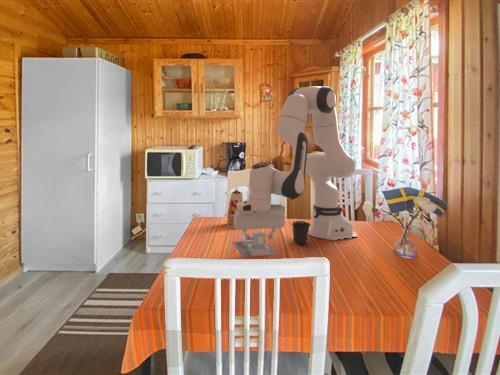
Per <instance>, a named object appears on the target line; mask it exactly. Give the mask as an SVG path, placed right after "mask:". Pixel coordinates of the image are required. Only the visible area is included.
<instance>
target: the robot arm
mask: <svg viewBox="0 0 500 375" xmlns="http://www.w3.org/2000/svg"><path fill="white" fill-rule="evenodd" d="M337 100H338V99H337V94H336V91H335V90H334V89H333V87H330V86H327V85H326V86H325V85H323V86H317V85H313V86H312V85H311V86H307V87H305V86H304V87H296V88H294V89H291V91H290V92H289V93H288V95H287V98H286V99H285V101H284V104H283V106H282V109H281V110H280V114H279V117H278V120H277V126H276V132H277V135H278V136H279V137H280V139H282V141H284V142H285V143H287V144H289V145H290V146H291V148H292V157H291V158H292V159H291V167H290V170H289V171H282V170H278V169H276V168H274V167H272V166H271V164H270V163H269V162H256V163H254V164H253V165H252V166H251V168H250V172H249V178H248V179H249V180H248V188H249V193H248V199H246V200H243V201H242V202H239V203H237V208H238V209H237V210H236V212H235V215H234V227H235V229H236V230H242V232H243V234H244V236H245V240H250V236H251V235H250V234H247V232H248V230H259V229H270V230H271V231H270V232H269V233H267V238H268V239H269V240H272V239H273V237H274V234H275V233H276V230H277V229H279V228H281V229H282V228H284V227H285V224H286V223H285V222H286V221H285V213H286V208H285V206H284V205H282V204H281V203H279V204H276V203H275V204H274V203H273V204H272V194H273V195H276V196H281V197H284V198H287V199H290V200H295V199H297V198H299V197H300V196H301V195H303V193H304V191H305V188H306V176H305V175H306V173H307V175H308V176H309V177H310V179H311V181H312V184H313V188H314V204H313V206H312V217H313V218H312V223H311V226H310V227H311V228H310V230H309V232H308V235H310V236H311V237H314V238H318V239H324V240H329V241H337V240H338V239H340V240H345V239H344V238H348V239H353V238H352V237H356V238H358V233H357V232H355V231H354V229H353V228H354V227H353V224H352V222H351V221H350V220H349V219H348V218H347V217H345V216H344V215H343V214H342V213H345V212H346V208H344V207H340V206H339V196H340V195H339V194H340V191H339V189H338V187H337V186H336V185H334V183H333V182H332V181H331V178H335V179H344V178H345V179H346V178H350V177H352V176H353V174H354V173H355V171H356V162H355V160H354V158H353V156H351V155H350V154H349V153H348V152H347V151H346V150H345V149H344V146H343V145H342V142H341V140H340V134H339V125H338V117H337V116H338V115H337V111H336V105H337ZM309 114H311V123H312V124H311V125H312V133H313V141H314V143H315V144H316V145H317V146H318V147H320V149H321V150H322V151H323V152H320V151H319V152H318V151H316V152H310V153H308V151H309V150H308V149H309V138H308V136H307V134H306V132H305V130H306V125H307V120H308V115H309ZM338 241H339V240H338Z"/></svg>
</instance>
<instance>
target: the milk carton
mask: <svg viewBox="0 0 500 375" xmlns="http://www.w3.org/2000/svg"><path fill="white" fill-rule="evenodd" d="M242 201H244V199H243V193H242V192H241V191H239V190H238V188H237V187H235V190H234V191H233V192H232V193H230V197H229V202H228V212H227V219H226V228H233V229H234V228H235V227H234V215H235V212H236V210H237V209H238V208H237V203H239V202H242ZM235 229H236V228H235Z"/></svg>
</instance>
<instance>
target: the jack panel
mask: <svg viewBox="0 0 500 375" xmlns="http://www.w3.org/2000/svg"><path fill="white" fill-rule="evenodd" d="M249 236H250V240H245V235H241V236H240V241H233V245H235V247H236V249H237V250H238V252H239V253H240V254H241V256H242V257H243V258H251V257H265V256H268V257H269V256H278V255H279V253H277V252H276V251H275V249H273V248H272V247H271V246H270V245H269V243H267V241H265V249H253V248H252V247H253V235H249Z"/></svg>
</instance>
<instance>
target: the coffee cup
mask: <svg viewBox="0 0 500 375" xmlns="http://www.w3.org/2000/svg"><path fill="white" fill-rule="evenodd" d="M291 226H292V233H293V235H292V237H293V243H295V244H297V245H299V246H300V247H306V246H307V244H308V243H307V242H308V235H309V232H310V230H309V229H310V227H311V223H309V222H307V221H303V220H296V221H293V222H292V223H291Z"/></svg>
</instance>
